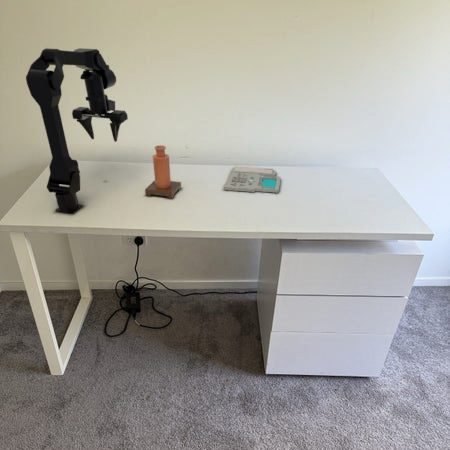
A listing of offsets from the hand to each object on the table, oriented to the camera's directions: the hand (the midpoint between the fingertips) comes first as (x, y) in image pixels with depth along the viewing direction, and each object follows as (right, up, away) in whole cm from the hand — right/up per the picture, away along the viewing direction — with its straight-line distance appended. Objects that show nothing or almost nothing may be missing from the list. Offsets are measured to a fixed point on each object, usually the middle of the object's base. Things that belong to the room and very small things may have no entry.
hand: (104, 140), depth 140 cm
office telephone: (+56, -12, +10) cm, 58 cm away
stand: (+22, -19, 0) cm, 29 cm away
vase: (+22, -17, -1) cm, 28 cm away
